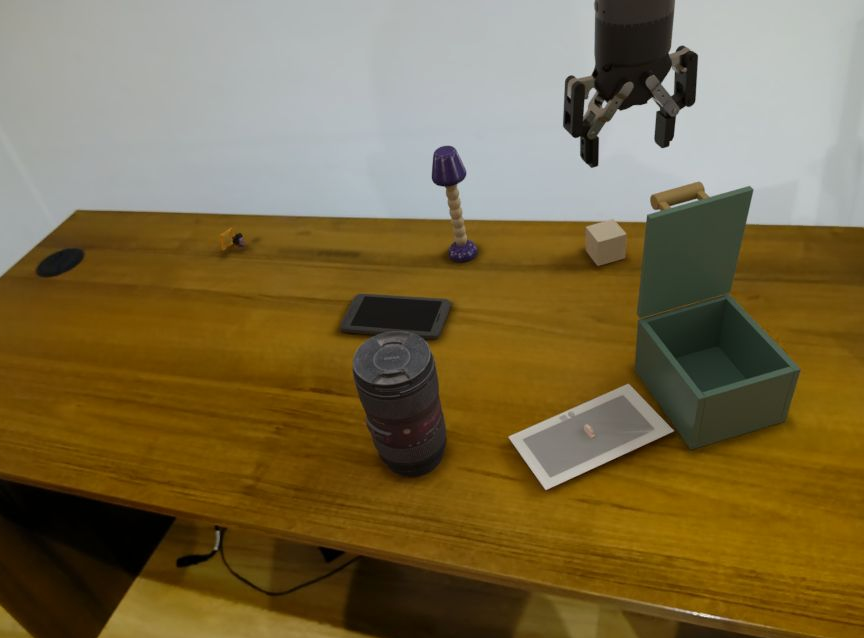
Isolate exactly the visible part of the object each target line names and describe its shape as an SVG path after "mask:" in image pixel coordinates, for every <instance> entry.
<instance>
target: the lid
mask: <svg viewBox="0 0 864 638" xmlns="http://www.w3.org/2000/svg"><path fill="white" fill-rule="evenodd" d="M754 191H755V190H754V188H753V187H752V185H751V186H750V185H747V186H744V187H741V188H737V189H734V190H730V191H726V192H722V193H719V194H716V195H711V196H709V195H708V194H707V193H706V189H705V186H704V184H703V182H701V181H695V182H692V183H689V184H685V185H681V186H678V187H674V188H670V189H666V190H664V191H659V192H657V193H652V194H651V195H650V198H649V202H650V206H651V208H652V209H653V210H654V211H655V212H651V213H648V214H647V215H646V221H645V230H644V231H645V232H644V239H643V250H642V258H641V259H642V260H641V270H640V279H639V289H638V299H637V308H636V309H637V310H636V316H637V317H638V318H639V319H642V318H646V317H649V316H653V315H656V314H660V313H663V312H666V311H670V310H673V309H677V308H680V307H684V306H687V305H691V304H694V303H698V302H701V301H705V300H708V299H711V298H715V297H718V296H722V295H725V294H730V293H731V292H732V289H733V283H734V279H735V274H736V270H737V265H738V262H739V256H740V252H741V248H742V243H743V239H744V235H745V231H746V226H747V222H748V221H747V220H748V216H749V212H750V208H751V204H752V203H751V202H752V198H753V194H754ZM683 203H684V204H683ZM658 210H659V211H658Z"/></svg>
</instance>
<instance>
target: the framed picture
mask: <svg viewBox="0 0 864 638" xmlns="http://www.w3.org/2000/svg"><path fill="white" fill-rule="evenodd" d="M228 234H229V235H230V241H229V242H228V243H225V239H224V238H225V237H226V236H227V235H228ZM243 238H244V237H243V234H242V233H241V232H236V233H234V227H230V228H229V229H227V230H225V231H224V232H222V233H221V234H219V239H220V245H221V250H222V251H225V250H226V249H227V248H230V247H231V246H232V245H235V246H236V248H238V249H243V247H244V246H246V247H247V246H248V245H249V244H246V243H245V241H244V239H243Z"/></svg>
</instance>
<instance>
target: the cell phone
mask: <svg viewBox="0 0 864 638" xmlns="http://www.w3.org/2000/svg"><path fill="white" fill-rule="evenodd" d="M451 307H452V303H451V300H449V299H446V298H435V297H421V296H407V295H406V296H405V295H389V294H376V293H375V294H374V293H373V294H372V293H358V294H356V295H355V296H354V297H353V299H352V301H351V303H350V305H349V306H348V309H347V311H346V312H345V314H344V316H343V318H342V320H341V322H340V325H339V329H340V332H342V333H345V334H346V333H347V334H359V335H371V336H376V335H378V334H382V333H385V332H392V331H404V332H409V333H414V334H416V335H418V336H420V337H421V338H423V339H424V340H437V339H438V338H440V336H441V334H442V331H443V329H444V326H445V324H446V320H447V319H448V315H449V313H450V310H451Z"/></svg>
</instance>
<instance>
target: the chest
mask: <svg viewBox="0 0 864 638" xmlns="http://www.w3.org/2000/svg"><path fill="white" fill-rule="evenodd" d="M635 341H636V344H635V355H634V357H635V359H634V369H633V370H634V372H635V373H636V374H637V377H639V378H640V380H641V382H642V383H643V384H644V386H645V387H646V388H647V390H648V392H649V393H650V394H651V396H652V397H653V399H654V400H655V402H656V403H657V404H658V406H659V407H660V409H661V410H662V411H663V413H664V414H665V416H666V418H667V419H668V420H669V421H670V423H671V425H672V426H673V427H674V429H675V430H676V431H677V433H678V435H679V436H680V437H681V439H682V440H683V441H684V443H685V444H686V446H687V447H688V449H689V450H690V451H692V450H694V449H699V448H702V447H705V446H708V445H711V444H714V443H718V442H721V441H726V440H729V439H732V438H734V437H738V436H742V435H745V434H749V433H751V432H752V433H753V432H755V431H758V430H762V429H766V428H768V427H771V426H775V425H779V424H781V423H785V422H787V419H788V415H789V411H790V408H791V404H792V402H793V398H794V394H795V390H796V388H797V384H798V380H799V377H800V374H801V371H802V368H801V367H800V366H799V365H798V364H797V363H796V362H795V361H794V360H793V359H792V358H791V357H790V356H789V355H788V353H786V352H785V350H784V349H783V348H782V347H780V346H779V344H778V343H777V342H776V341H775V340H774V339H773V338H772V337H771V336H770V335H769V334H768V333H767V332H766V331H765V330H764V329H763V328H762V326H761V325H759V324H758V323H757V321H756V320H754V318H753V317H752V316H751V315H750V314H749V313H748V312H747V311H746V310H745V309H744V308H743V307H742V306H741V304H740V303H738V302H737V301H736V300H735V299H734V298H733V296H731V294H730V293H726V294H723V295H719V296H716V297H712V298H709V299H705V300H702V301H698V302H695V303H691V304H688V305H684V306H681V307H677V308H674V309H671V310H667V311H664V312H660V313H657V314H653V315H650V316H646V317H643V318H639V319H637V328H636V340H635Z"/></svg>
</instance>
